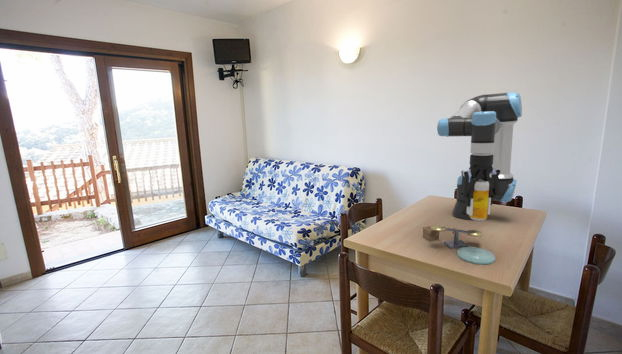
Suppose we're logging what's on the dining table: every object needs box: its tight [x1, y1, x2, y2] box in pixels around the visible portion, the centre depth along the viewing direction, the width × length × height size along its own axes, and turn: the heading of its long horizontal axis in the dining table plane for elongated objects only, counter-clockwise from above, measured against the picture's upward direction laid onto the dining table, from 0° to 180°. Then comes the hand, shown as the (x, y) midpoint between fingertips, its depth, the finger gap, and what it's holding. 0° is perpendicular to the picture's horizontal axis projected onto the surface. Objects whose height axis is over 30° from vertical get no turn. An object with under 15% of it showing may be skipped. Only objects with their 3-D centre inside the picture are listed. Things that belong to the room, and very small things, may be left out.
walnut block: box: [422, 225, 440, 242], centre depth 134 cm, size 5×5×5 cm
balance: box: [430, 224, 484, 250], centre depth 126 cm, size 22×7×9 cm, turn 92°
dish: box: [456, 246, 496, 265], centre depth 115 cm, size 13×13×1 cm
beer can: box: [469, 179, 489, 222], centre depth 111 cm, size 6×6×15 cm
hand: (478, 213), depth 112 cm, fingers closed on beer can, 6 cm apart
